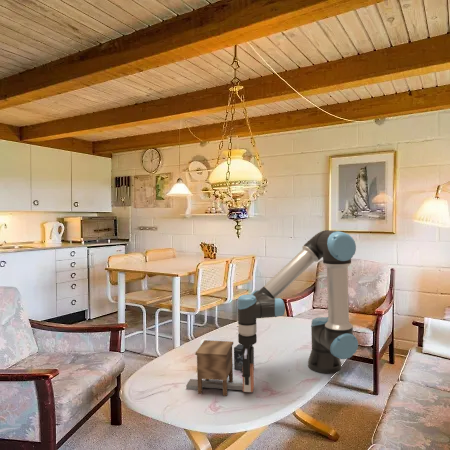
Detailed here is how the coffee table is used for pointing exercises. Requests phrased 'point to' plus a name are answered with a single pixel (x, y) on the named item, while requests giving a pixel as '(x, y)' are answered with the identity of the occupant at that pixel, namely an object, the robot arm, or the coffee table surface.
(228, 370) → the cabinet
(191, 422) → the coffee table surface
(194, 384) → the token
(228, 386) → the orange-headed mallet
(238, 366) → the box
